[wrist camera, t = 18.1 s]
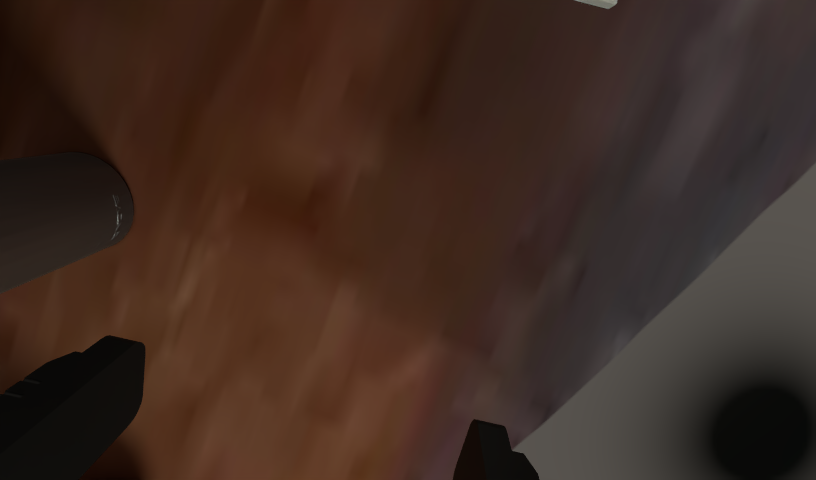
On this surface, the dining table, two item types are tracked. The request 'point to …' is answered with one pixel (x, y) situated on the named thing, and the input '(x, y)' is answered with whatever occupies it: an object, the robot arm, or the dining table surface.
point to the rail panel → (600, 3)
